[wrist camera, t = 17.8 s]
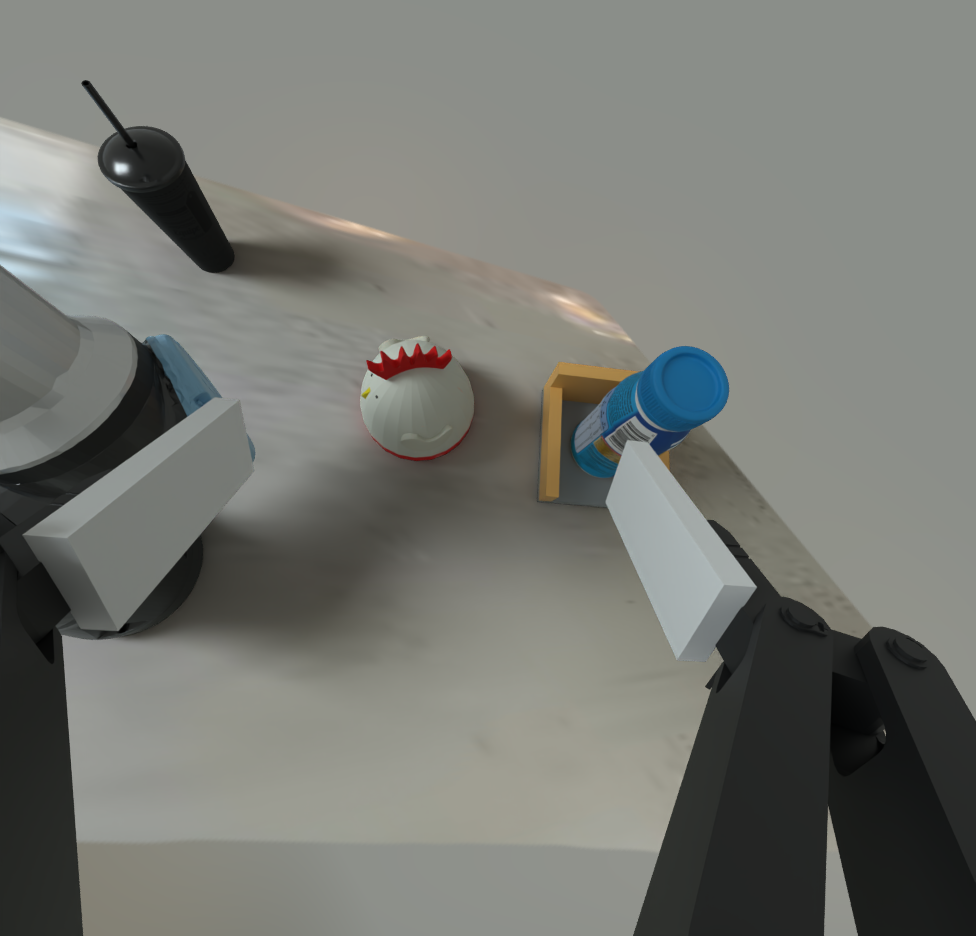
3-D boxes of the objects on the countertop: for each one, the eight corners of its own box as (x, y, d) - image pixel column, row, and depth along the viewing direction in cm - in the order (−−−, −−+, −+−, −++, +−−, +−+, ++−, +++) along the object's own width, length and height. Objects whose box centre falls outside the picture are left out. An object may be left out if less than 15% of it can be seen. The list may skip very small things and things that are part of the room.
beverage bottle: (561, 421, 53) (631, 339, 33) (622, 413, 54) (724, 329, 34) (575, 484, 51) (658, 438, 32) (638, 475, 52) (754, 424, 33)
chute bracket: (651, 511, 52) (688, 503, 44) (537, 501, 51) (554, 490, 43) (649, 402, 56) (683, 377, 48) (542, 390, 54) (558, 361, 47)
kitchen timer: (353, 369, 52) (319, 295, 38) (458, 349, 54) (464, 272, 40) (376, 472, 50) (349, 435, 35) (485, 447, 52) (501, 402, 37)
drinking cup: (236, 225, 55) (124, 42, 35) (253, 272, 54) (145, 109, 34) (176, 240, 53) (25, 56, 34) (191, 288, 52) (43, 127, 33)
